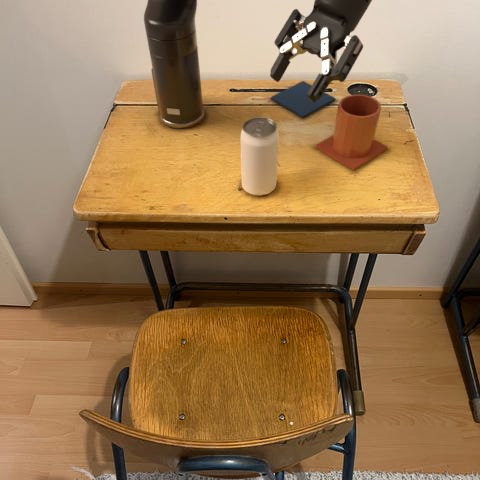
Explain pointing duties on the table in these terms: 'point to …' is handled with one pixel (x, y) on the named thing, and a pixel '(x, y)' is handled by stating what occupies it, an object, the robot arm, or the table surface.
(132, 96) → the table surface
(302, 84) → the blue mat
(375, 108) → the terracotta cup
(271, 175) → the can
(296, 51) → the robot arm
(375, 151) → the terracotta mat
